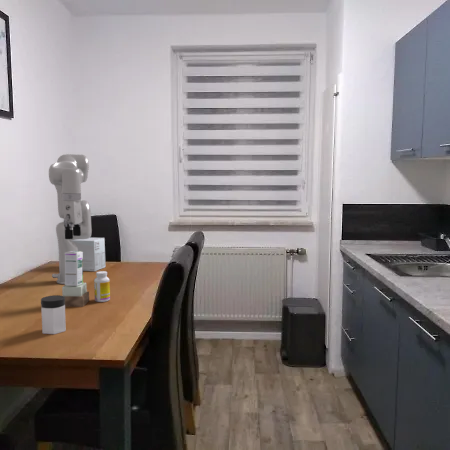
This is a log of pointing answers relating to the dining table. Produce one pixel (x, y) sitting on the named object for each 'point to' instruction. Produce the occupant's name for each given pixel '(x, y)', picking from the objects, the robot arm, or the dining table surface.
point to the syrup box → (73, 268)
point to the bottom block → (77, 300)
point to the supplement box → (92, 253)
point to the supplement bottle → (102, 287)
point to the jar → (53, 314)
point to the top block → (74, 290)
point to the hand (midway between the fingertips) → (73, 237)
